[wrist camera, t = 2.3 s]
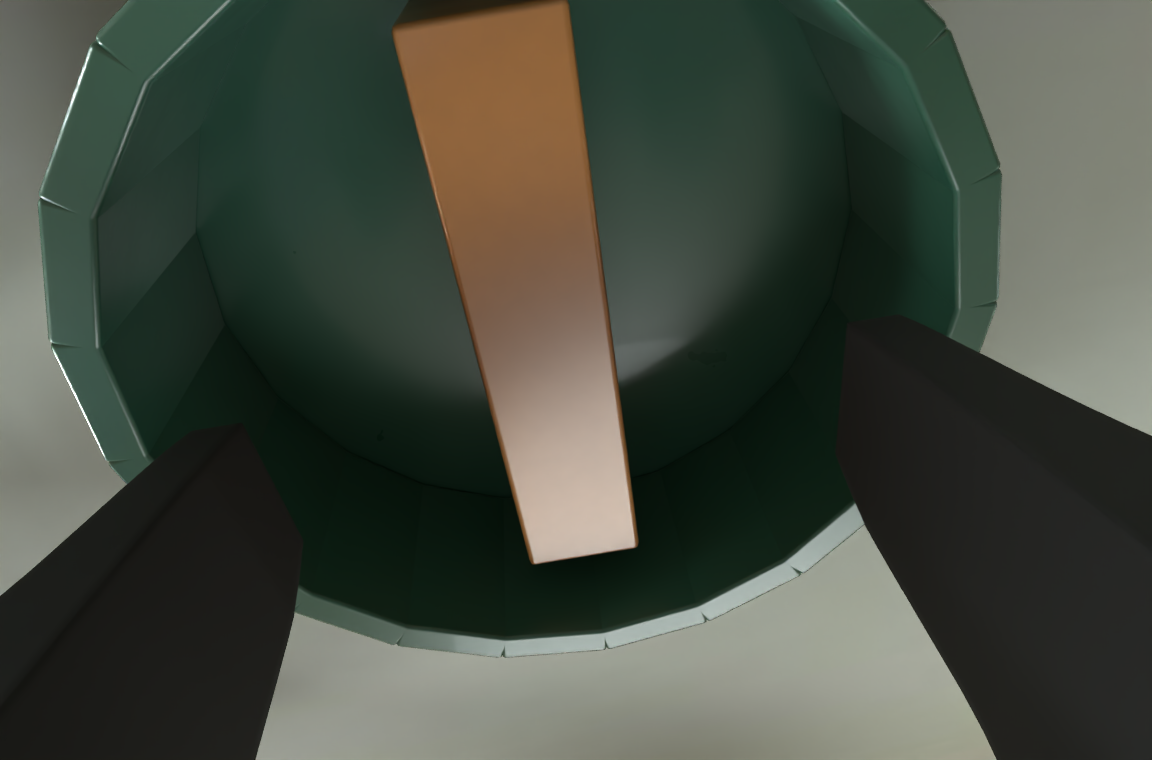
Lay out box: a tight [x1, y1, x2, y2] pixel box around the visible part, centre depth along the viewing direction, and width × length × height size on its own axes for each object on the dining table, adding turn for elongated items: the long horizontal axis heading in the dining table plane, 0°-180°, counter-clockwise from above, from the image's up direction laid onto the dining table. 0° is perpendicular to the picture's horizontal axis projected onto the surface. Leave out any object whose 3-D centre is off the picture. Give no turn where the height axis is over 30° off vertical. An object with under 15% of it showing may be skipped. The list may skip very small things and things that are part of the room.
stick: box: [391, 0, 639, 564], centre depth 12 cm, size 9×2×3 cm, turn 8°
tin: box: [38, 0, 1002, 658], centre depth 12 cm, size 12×12×4 cm
